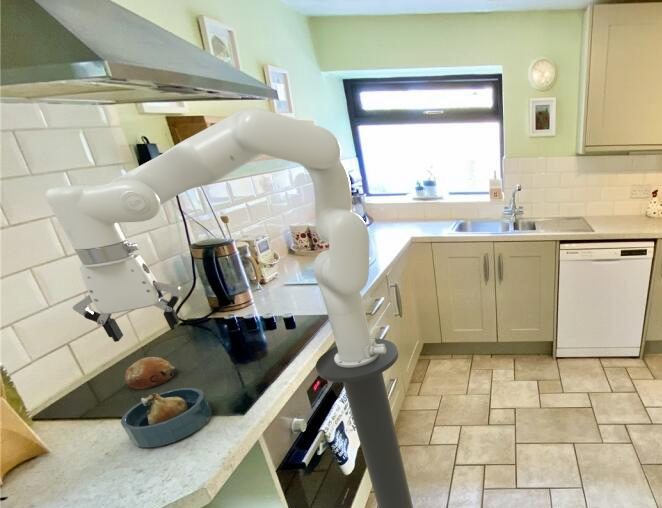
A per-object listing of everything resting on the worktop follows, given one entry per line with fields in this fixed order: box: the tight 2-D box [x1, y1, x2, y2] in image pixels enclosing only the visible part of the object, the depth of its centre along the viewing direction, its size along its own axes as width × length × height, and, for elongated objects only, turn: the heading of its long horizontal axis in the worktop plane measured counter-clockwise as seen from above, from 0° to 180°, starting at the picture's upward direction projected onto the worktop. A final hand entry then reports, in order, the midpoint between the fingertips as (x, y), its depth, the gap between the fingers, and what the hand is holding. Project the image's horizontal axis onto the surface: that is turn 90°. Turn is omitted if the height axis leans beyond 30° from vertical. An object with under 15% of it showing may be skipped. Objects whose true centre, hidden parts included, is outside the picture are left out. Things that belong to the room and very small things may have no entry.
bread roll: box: [124, 356, 176, 390], centre depth 111 cm, size 10×10×8 cm
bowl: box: [120, 387, 213, 448], centre depth 92 cm, size 15×15×6 cm
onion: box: [140, 392, 188, 425], centre depth 91 cm, size 8×8×8 cm
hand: (147, 332), depth 88 cm, fingers open, 9 cm apart
